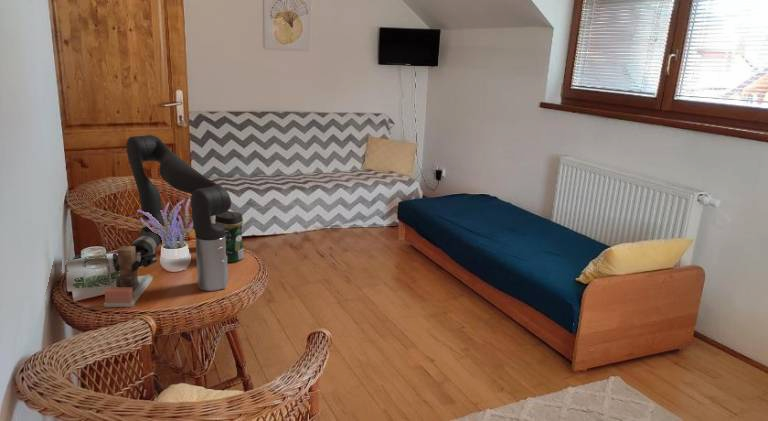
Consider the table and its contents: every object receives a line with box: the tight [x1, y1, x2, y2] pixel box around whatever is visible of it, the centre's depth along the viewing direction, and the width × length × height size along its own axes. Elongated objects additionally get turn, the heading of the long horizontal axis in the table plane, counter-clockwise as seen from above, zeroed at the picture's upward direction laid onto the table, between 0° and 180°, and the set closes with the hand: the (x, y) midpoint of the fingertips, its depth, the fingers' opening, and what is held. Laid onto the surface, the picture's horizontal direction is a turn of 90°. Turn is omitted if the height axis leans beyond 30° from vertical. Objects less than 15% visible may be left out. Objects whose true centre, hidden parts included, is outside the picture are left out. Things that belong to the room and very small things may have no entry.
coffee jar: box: [215, 210, 244, 263], centre depth 203 cm, size 10×8×19 cm
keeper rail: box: [103, 273, 153, 308], centre depth 173 cm, size 8×21×5 cm, turn 7°
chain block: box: [115, 245, 139, 291], centre depth 171 cm, size 4×7×13 cm, turn 7°
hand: (124, 268), depth 169 cm, fingers closed on chain block, 4 cm apart
